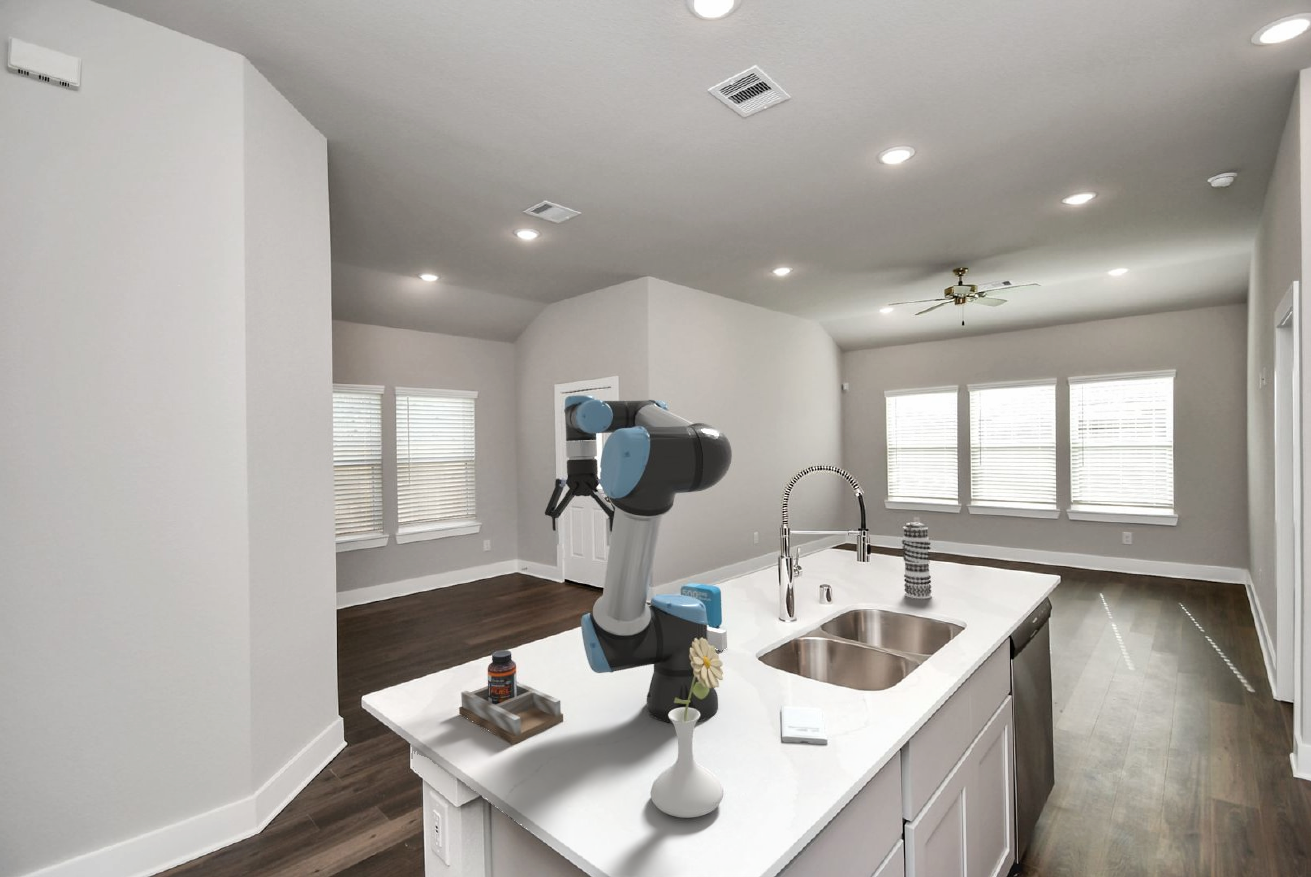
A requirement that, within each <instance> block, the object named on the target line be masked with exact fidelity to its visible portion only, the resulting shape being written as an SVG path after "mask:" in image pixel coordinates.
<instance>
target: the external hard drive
mask: <svg viewBox="0 0 1311 877" xmlns="http://www.w3.org/2000/svg"><path fill="white" fill-rule="evenodd" d="M780 714H781V717H780V718H781V740H782V742H787V743H788V742H789V743H790V742H791V743H808V744H820V745H821V744H822V745H828V738H827V731H826V724H825V723H826V722H825V719H824V713H823V709H822V708H820V707H807V706H806V707H805V706H804V707H803V706H789V705H788V706H786V705H784V706H781V708H780Z"/></svg>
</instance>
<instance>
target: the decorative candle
mask: <svg viewBox="0 0 1311 877" xmlns="http://www.w3.org/2000/svg"><path fill="white" fill-rule="evenodd" d="M902 528H903V540H901V544H902V545H903V546H902V548H901V549H902V554H903V557H902V558H903V562H904V567H905V568H904V574H903V575H904V576H903V577H904V580H903V581H904V582H905V583H904V585H903V587H904V596H905V597H907V598H912V599H919V600H920V599H924V600H925V599H930V598H932V585H931V583H932V580H931V577H932V576H931V574H930V573H931V571H930V566H929V565H930V563H931V561H930V560H931V557H930V556H931V552H929V550H931V547H930V546H931V542H929V535H928V529H929V527H928V526H926V524H925V523H923V522H915V521H913V522H907V523H906V524H905V525H904V526H902Z"/></svg>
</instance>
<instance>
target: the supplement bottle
mask: <svg viewBox="0 0 1311 877" xmlns="http://www.w3.org/2000/svg"><path fill="white" fill-rule="evenodd" d="M491 656H492V657H491V663H489V664H488V667H487V686H488V702H490V703H492V704H494V705H496V704H499V703H501V702H504V701H506V700H509V699H511V698H514V697H516V696H517V682H518V681H517V680H518V678H517V664H516V661H514V660H513V659H512V651H510V650H506V649H503V650H502V649H500V650H497V651H496V650H495V651H494V652H493V653H491Z"/></svg>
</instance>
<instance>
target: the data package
mask: <svg viewBox="0 0 1311 877" xmlns="http://www.w3.org/2000/svg"><path fill="white" fill-rule="evenodd" d="M680 595H684V596H689V597H693V598H696V599H698V600H700V601H701V602H702V603H703V604H704V605H705V608H706V615H707V621H708V624H707V625H709V627H711V628H716V629H717V628H718V627H719V626H721V625H722V622H723V613H722V591H721V588H720V587H718V586H716V585H710V584H702V583H695V582H690V583H687V584H684V585H682V586H681V588H680ZM717 626H718V627H717Z"/></svg>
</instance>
